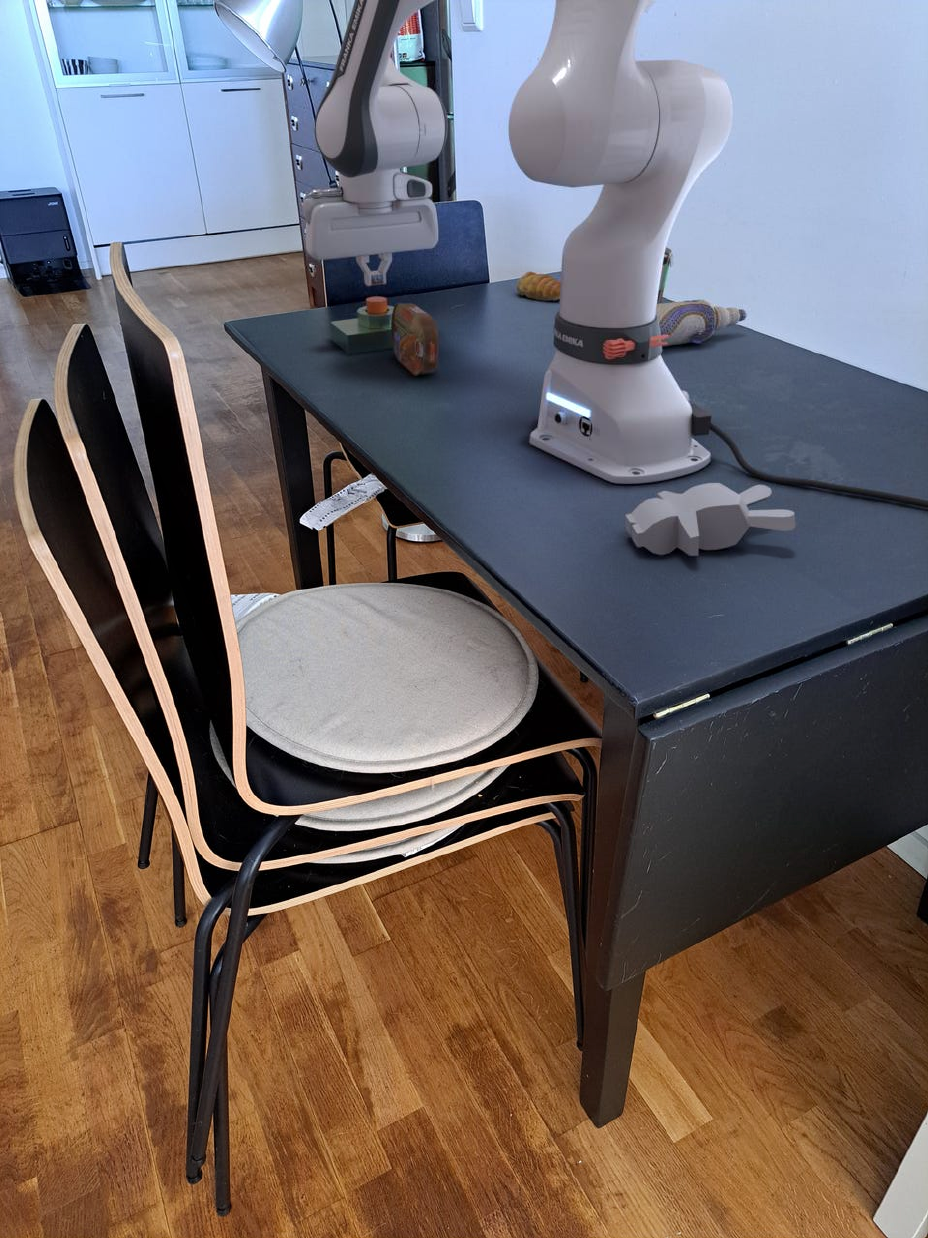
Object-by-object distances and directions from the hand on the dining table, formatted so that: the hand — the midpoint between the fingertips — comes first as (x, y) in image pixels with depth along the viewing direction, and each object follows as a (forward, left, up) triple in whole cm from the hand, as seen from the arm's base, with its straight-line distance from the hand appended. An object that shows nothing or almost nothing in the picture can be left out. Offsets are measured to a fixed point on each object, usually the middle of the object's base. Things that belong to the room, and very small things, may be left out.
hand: (375, 284), depth 136 cm
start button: (0, 0, -4) cm, 4 cm away
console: (0, 0, -9) cm, 9 cm away
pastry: (+13, -38, -9) cm, 41 cm away
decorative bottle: (-23, -41, -9) cm, 47 cm away
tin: (-14, 0, -9) cm, 17 cm away
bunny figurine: (-75, -5, -9) cm, 76 cm away
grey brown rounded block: (-1, -50, -9) cm, 50 cm away
